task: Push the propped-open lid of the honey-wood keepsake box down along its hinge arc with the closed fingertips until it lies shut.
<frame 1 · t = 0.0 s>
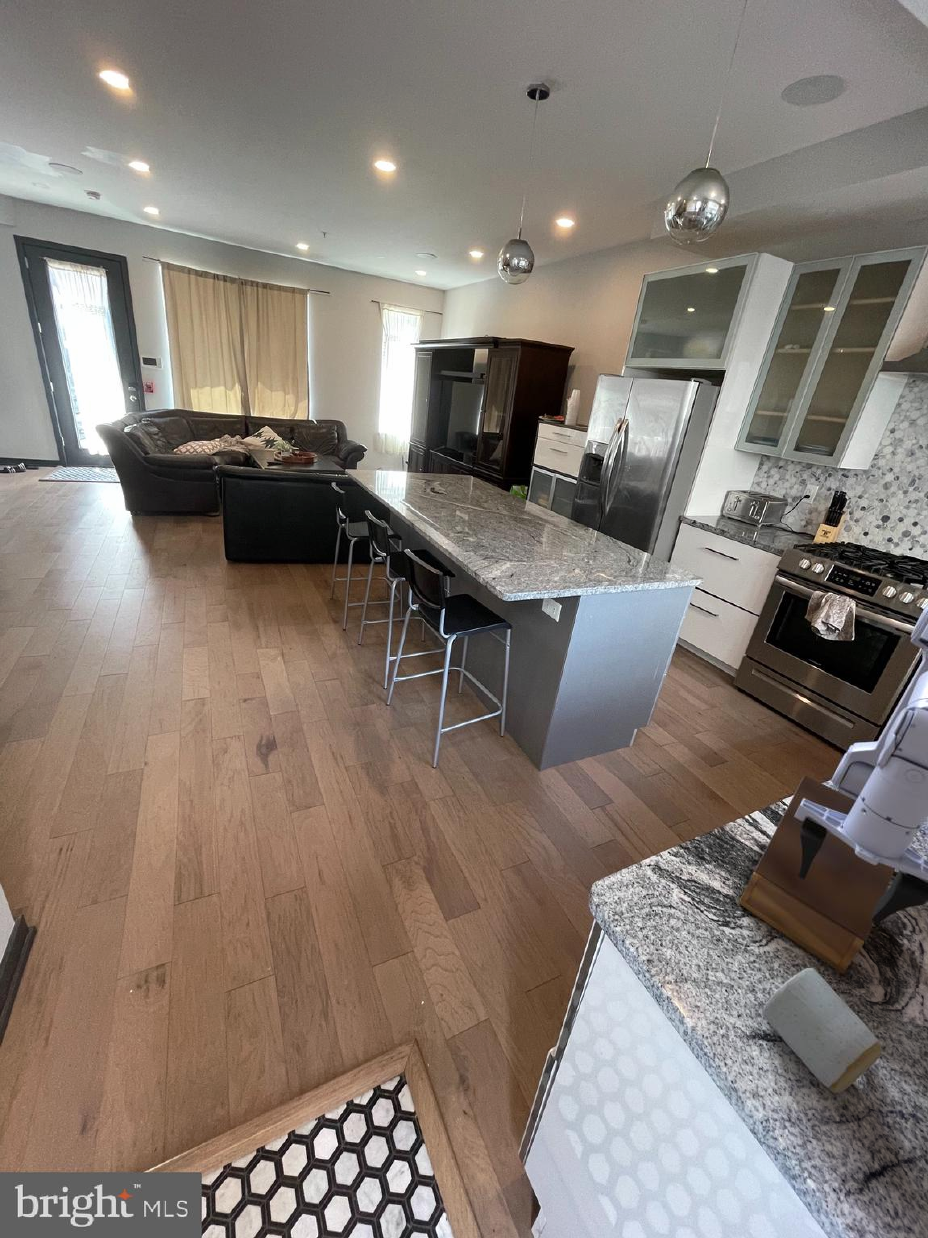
hand: (837, 894, 61), 10 cm above the counter, tool pointing down, fingers open, 7 cm apart
ceramic mug: (810, 1042, 55), on the counter
keepsake box: (800, 902, 72), on the counter
lid: (831, 850, 67), point 11 cm above the counter, hinge at 35.0°
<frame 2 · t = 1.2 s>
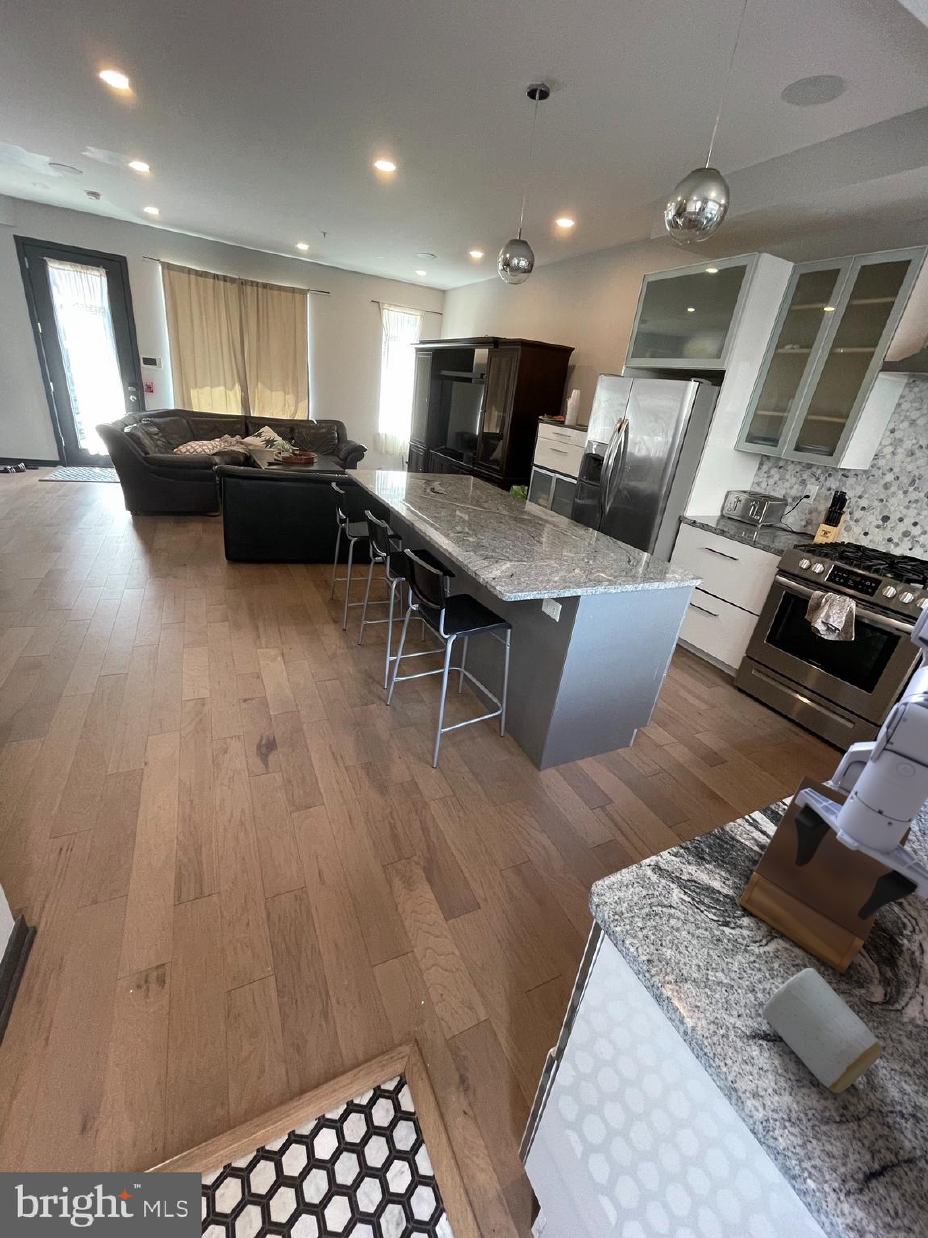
hand: (831, 888, 62), 10 cm above the counter, tool pointing down, fingers open, 7 cm apart
nothing on the counter moved.
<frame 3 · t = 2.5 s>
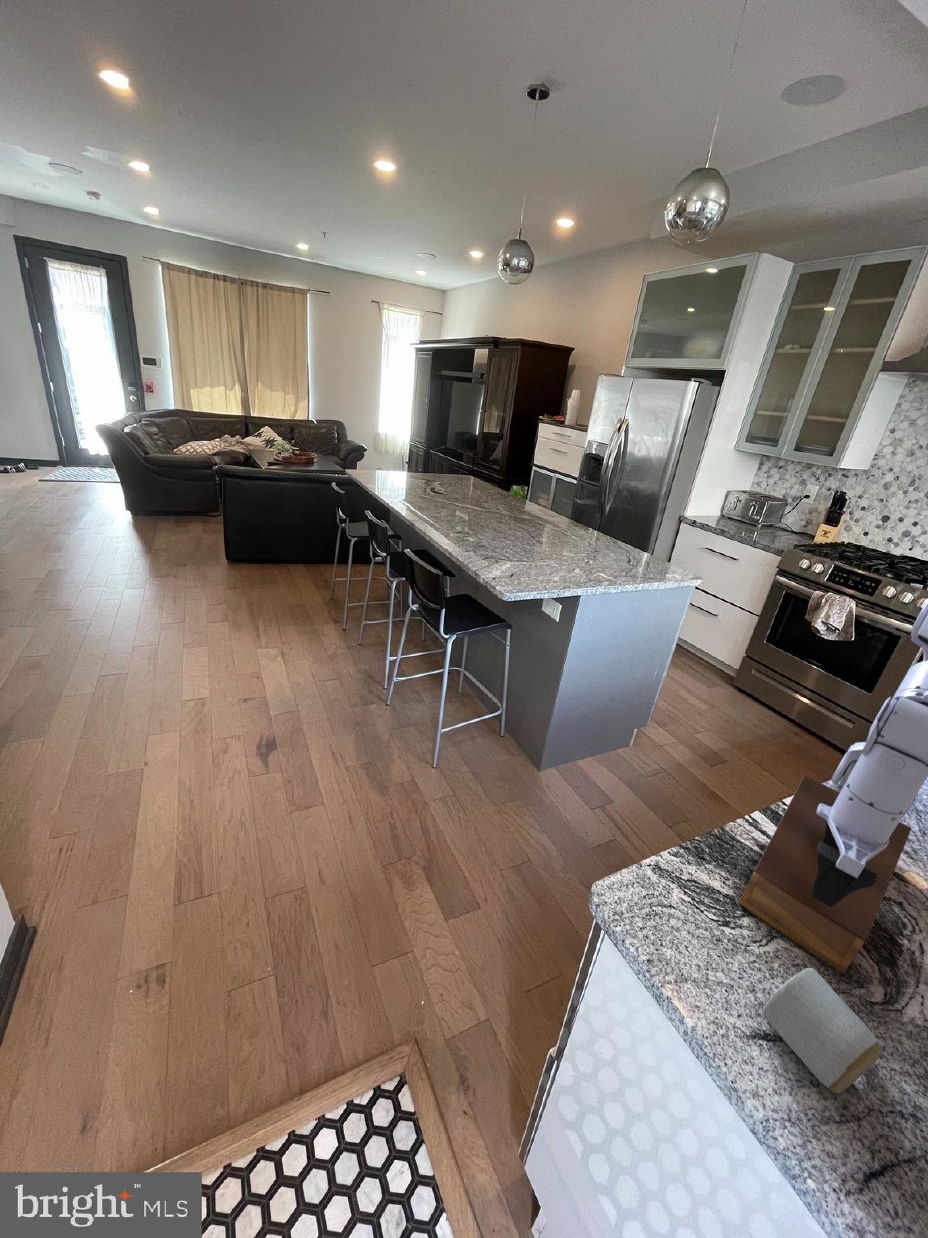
hand: (824, 880, 63), 10 cm above the counter, tool pointing down, fingers open, 7 cm apart
nothing on the counter moved.
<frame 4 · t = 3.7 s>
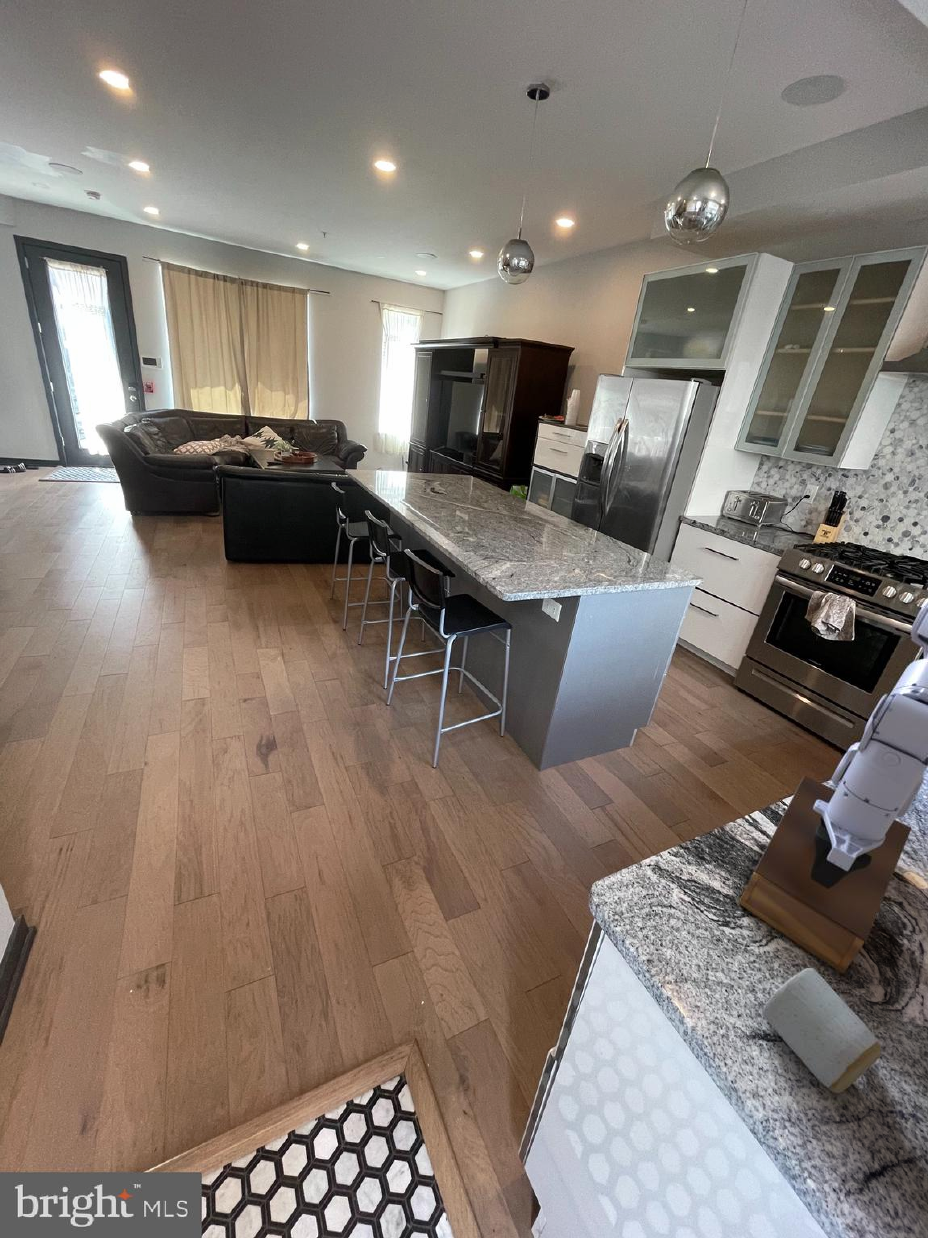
hand: (821, 877, 63), 10 cm above the counter, tool pointing down, fingers closed
nothing on the counter moved.
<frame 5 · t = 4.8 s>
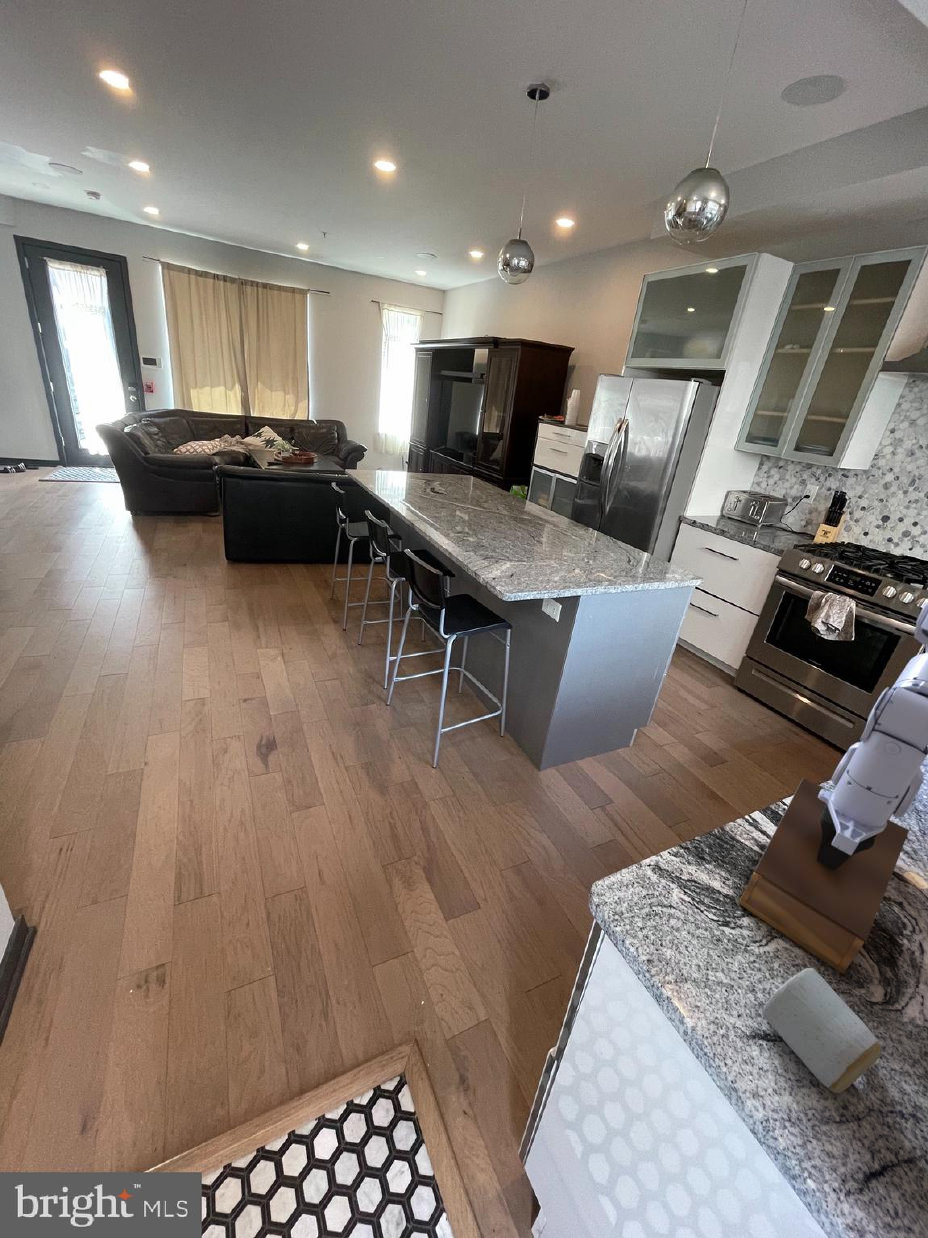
hand: (825, 863, 66), 10 cm above the counter, tool pointing down, fingers closed
lid: (830, 851, 68), point 11 cm above the counter, hinge at 32.0°, touching gripper
everything else where it was.
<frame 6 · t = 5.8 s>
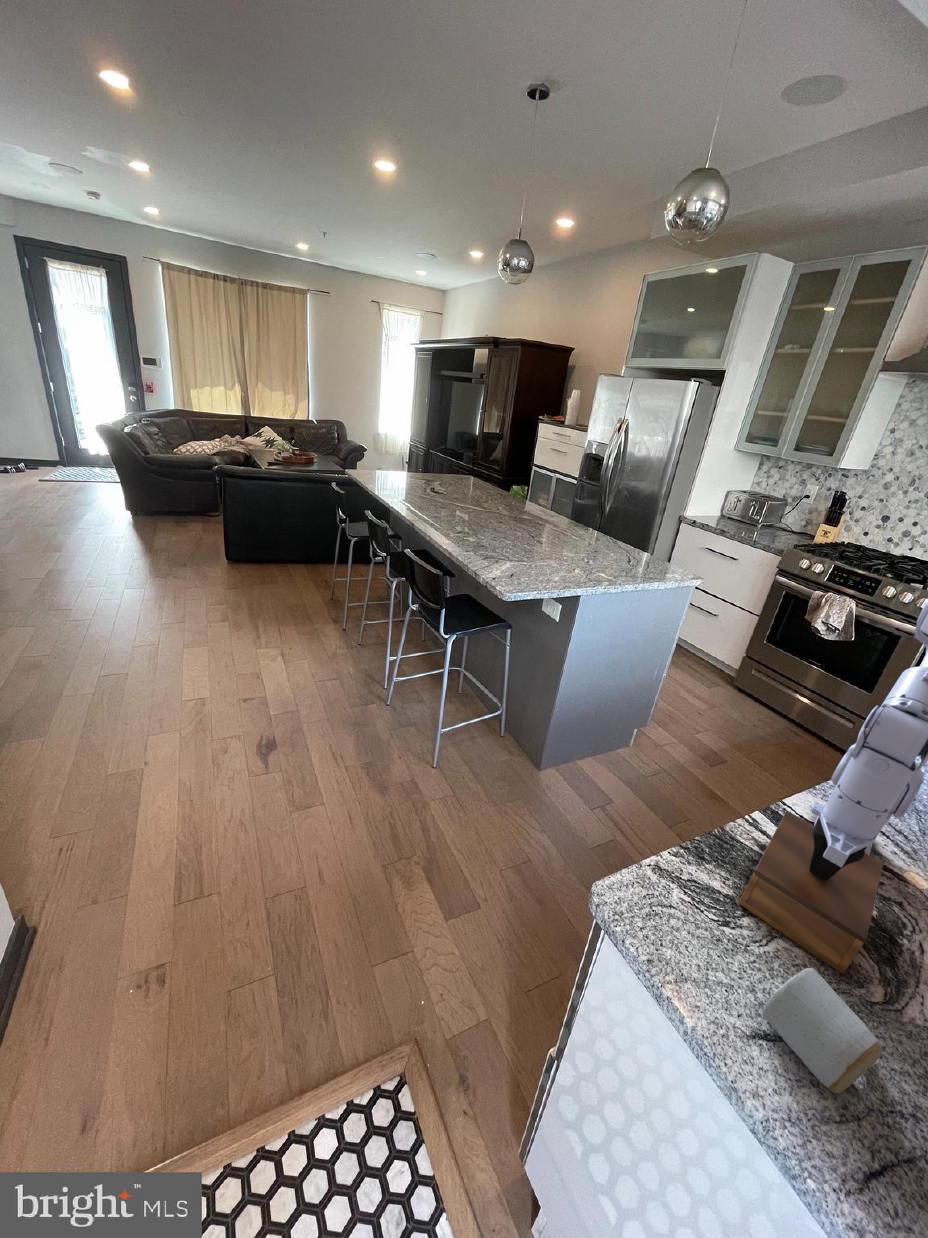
hand: (818, 873, 69), 7 cm above the counter, tool pointing down, fingers closed, pressing on lid
lid: (820, 867, 70), point 7 cm above the counter, hinge at 2.6°, touching gripper
everything else where it was.
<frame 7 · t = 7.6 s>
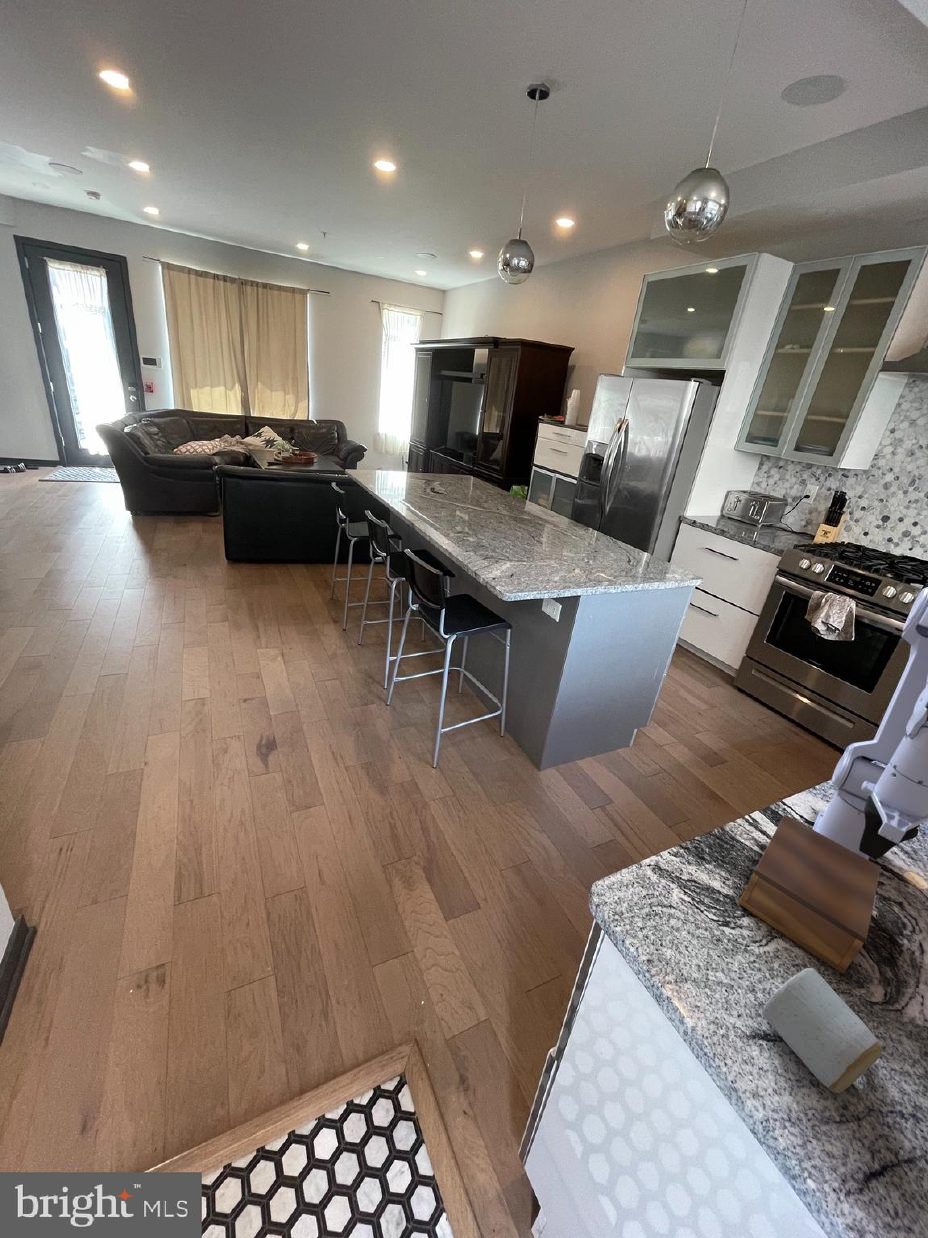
hand: (868, 852, 69), 10 cm above the counter, tool pointing down, fingers closed
lid: (819, 870, 70), point 6 cm above the counter, hinge at -0.2°, touching keepsake box
everything else where it was.
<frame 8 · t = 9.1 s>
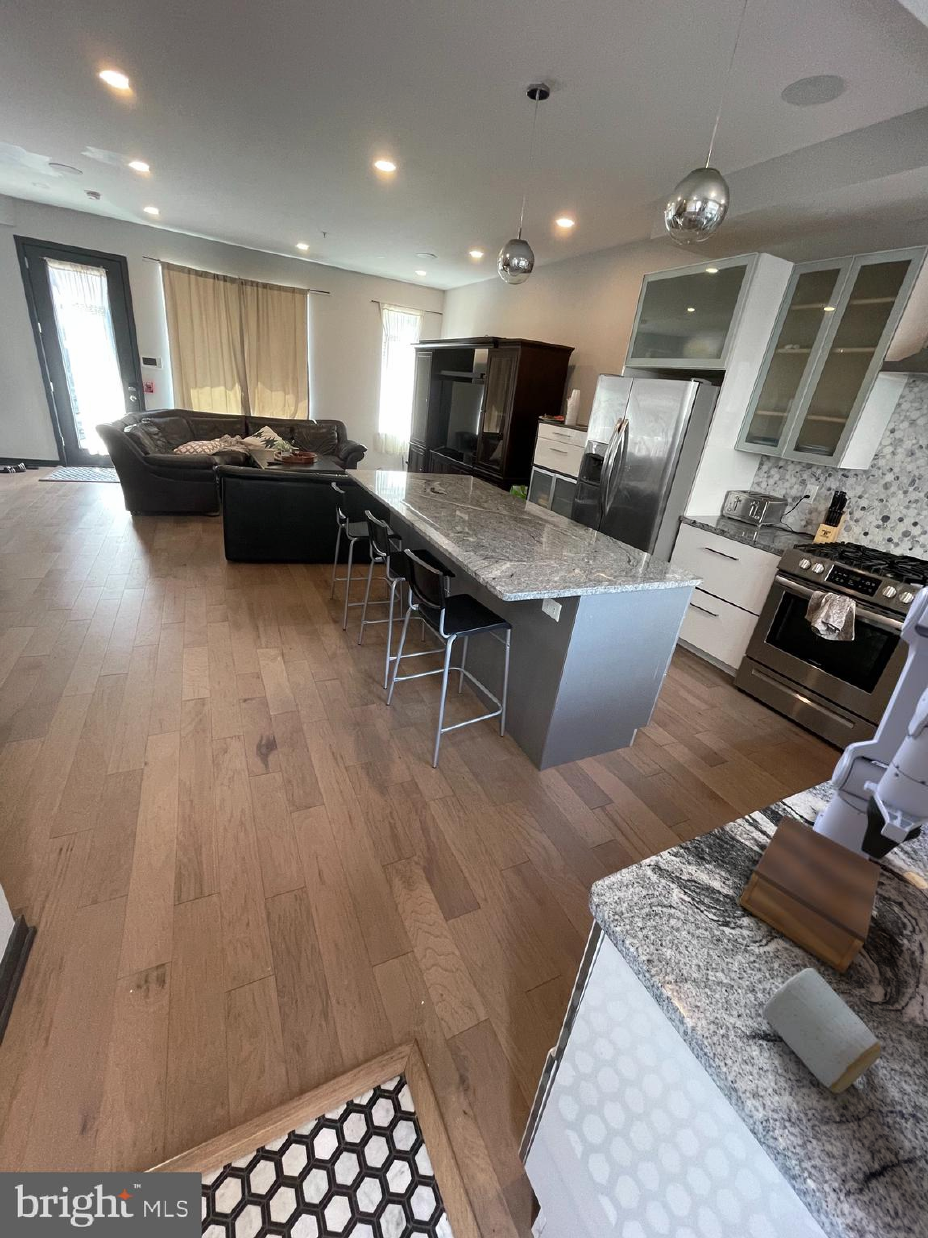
hand: (870, 852, 69), 10 cm above the counter, tool pointing down, fingers closed
nothing on the counter moved.
at the end: lid at +0° (first picture: +35°); ceramic mug moved 0.2 cm from its start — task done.
